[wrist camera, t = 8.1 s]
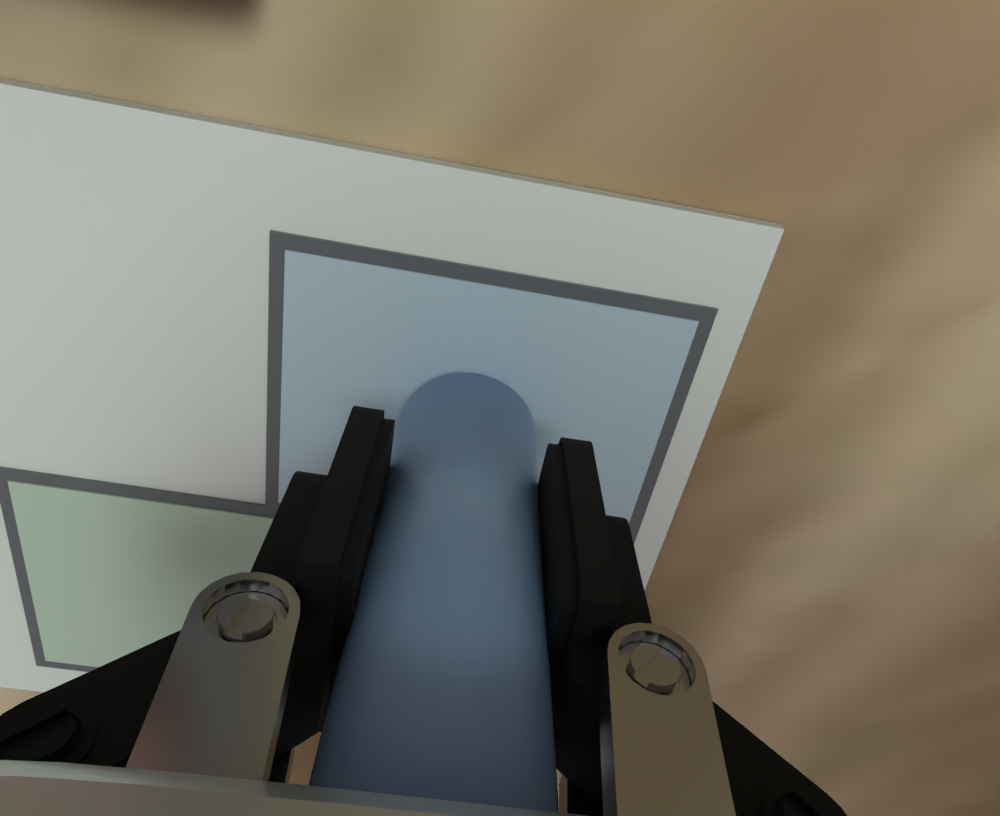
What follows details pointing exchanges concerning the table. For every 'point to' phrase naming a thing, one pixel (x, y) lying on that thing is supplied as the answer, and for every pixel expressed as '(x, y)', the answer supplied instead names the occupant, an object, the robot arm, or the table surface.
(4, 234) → the sheet
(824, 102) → the table surface
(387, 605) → the cylinder
